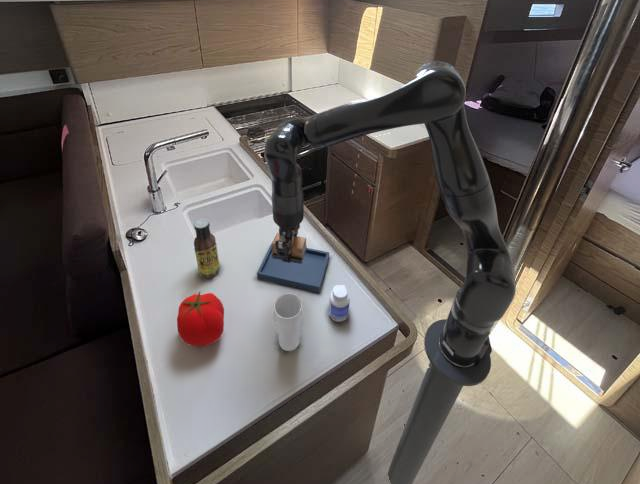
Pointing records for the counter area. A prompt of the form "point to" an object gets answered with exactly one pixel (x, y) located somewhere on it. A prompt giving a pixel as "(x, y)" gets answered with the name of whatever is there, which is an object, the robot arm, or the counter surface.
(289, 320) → the drinking glass
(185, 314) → the tomato
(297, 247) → the eraser
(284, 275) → the tray
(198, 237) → the sauce bottle
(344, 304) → the pill bottle
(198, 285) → the counter surface
